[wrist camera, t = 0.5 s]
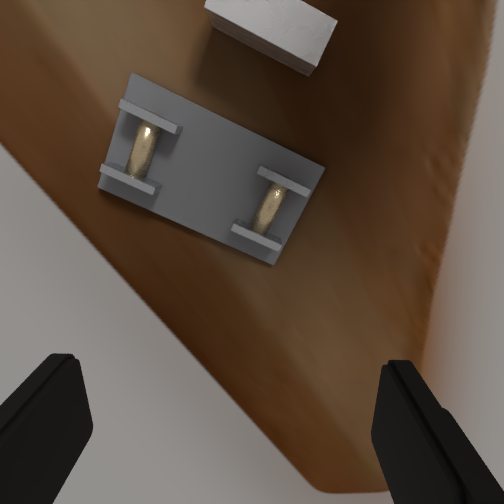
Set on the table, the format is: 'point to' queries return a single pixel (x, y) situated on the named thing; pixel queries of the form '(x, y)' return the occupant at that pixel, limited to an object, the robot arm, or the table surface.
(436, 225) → the table surface
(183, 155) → the grey flat plate
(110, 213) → the table surface
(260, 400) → the table surface
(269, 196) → the twin roller tray
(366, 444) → the table surface
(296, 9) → the tall grey pillar block
